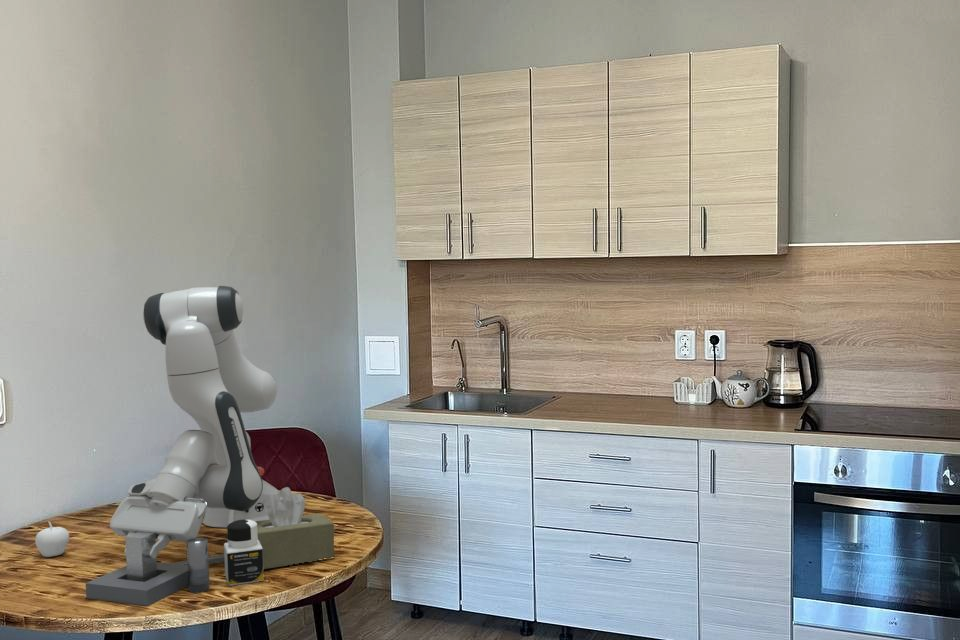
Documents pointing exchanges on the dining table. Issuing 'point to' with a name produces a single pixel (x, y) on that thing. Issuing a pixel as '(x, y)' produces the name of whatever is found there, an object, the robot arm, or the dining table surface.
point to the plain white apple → (52, 541)
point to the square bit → (140, 557)
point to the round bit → (198, 565)
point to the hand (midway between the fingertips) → (139, 555)
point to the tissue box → (293, 532)
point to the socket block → (138, 585)
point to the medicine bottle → (243, 553)
